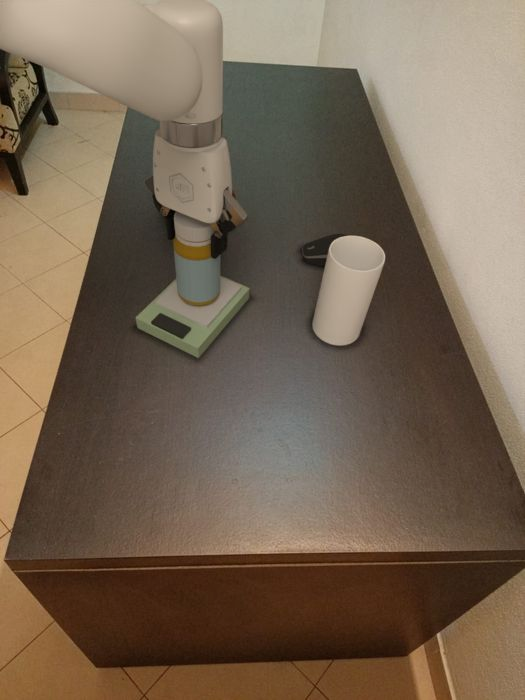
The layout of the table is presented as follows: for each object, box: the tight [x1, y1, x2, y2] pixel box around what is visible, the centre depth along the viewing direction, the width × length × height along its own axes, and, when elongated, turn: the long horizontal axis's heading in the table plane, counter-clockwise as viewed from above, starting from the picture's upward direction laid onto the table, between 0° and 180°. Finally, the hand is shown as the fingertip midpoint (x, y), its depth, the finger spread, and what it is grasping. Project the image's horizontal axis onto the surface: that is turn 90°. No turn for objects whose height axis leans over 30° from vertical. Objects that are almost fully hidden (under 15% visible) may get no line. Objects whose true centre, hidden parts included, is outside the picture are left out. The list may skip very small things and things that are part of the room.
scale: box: [135, 275, 250, 359], centre depth 79 cm, size 16×12×3 cm
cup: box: [311, 235, 386, 346], centre depth 74 cm, size 8×8×16 cm
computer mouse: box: [301, 233, 350, 267], centre depth 90 cm, size 7×12×4 cm, turn 91°
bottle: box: [172, 211, 221, 306], centre depth 72 cm, size 7×7×15 cm
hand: (196, 243), depth 70 cm, fingers closed on bottle, 7 cm apart
